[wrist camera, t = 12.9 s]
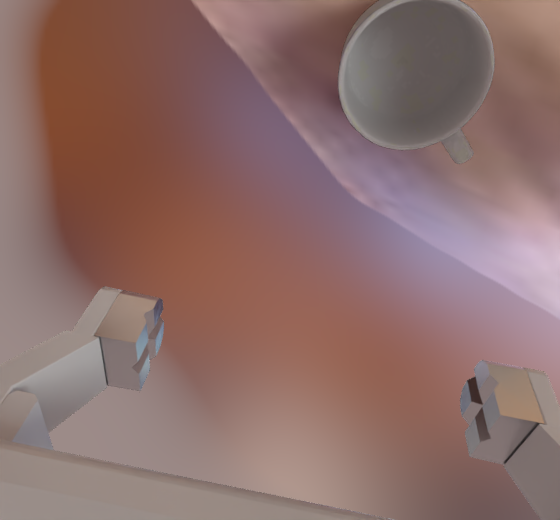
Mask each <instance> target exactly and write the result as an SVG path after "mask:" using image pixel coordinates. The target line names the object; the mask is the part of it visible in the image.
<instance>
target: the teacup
mask: <svg viewBox="0 0 560 520" xmlns="http://www.w3.org/2000/svg"><path fill="white" fill-rule="evenodd" d="M494 62H495V60H494V50H493V43H492V40H491V37H490V33H489V31H488V29H487V27H486V25H485V24H484V22H483V20H482V19H481V18H480V16H479V15H478V14H477V13H476V12H475V11H474V10H473V9H472V8H470V7H469V6H468V5H466V4H465V3H463V2H461V1H460V0H379V1H377V2H376V3H374V4H373V5H372V6H370V7H369V8H368V9H367V10H366V11H365V12H364V13H363V14H362V15H361V16H360V17H359V19H358V20H357V21H356V23H355V24H354V25H353V27H352V29H351V30H350V32H349V34H348V37H347V39H346V42H345V44H344V48H343V51H342V56H341V61H340V65H339V71H338V92H339V99H340V102H341V106H342V109H343V112H344V113H345V115H346V117H347V119H348V121H349V122H350V124H351V125H352V126H353V127H354V128H355V130H356V131H358V132H359V133H360V134H361V135H362V136H363V137H364V138H366V139H368V140H369V141H370V142H372V143H374V144H376V145H378V146H382V147H385V148H389V149H394V150H414V149H419V148H423V147H427V146H430V145H433V144H435V143H438V142H440V141H441V142H442V144H443V145H444V147H445V148H446V150H447V152H448V153H449V155H450V157H451V158H452V159H453V161H454V162H455V163H457V164H461V163H464V162H466V161H467V160H469V159H470V158H471V157H472V156H473V154H474V153H473V150H472V148H471V146H470V144H469V142H468V141H467V139H466V137H465V135H464V134H463V132H462V130H461V128H462V127H463V126H464V125H465V124H466V123H467V122H468V121H469V120H470V119H471V118H472V117H473V115H474V114H475V113H476V112H477V111H478V109H479V108H480V106H481V104H482V103H483V101H484V99H485V97H486V95H487V93H488V91H489V88H490V85H491V82H492V78H493V73H494Z"/></svg>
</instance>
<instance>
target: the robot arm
mask: <svg viewBox="0 0 560 520" xmlns="http://www.w3.org/2000/svg"><path fill="white" fill-rule="evenodd" d="M162 310H163V300H162V299H161V298H157V297H153V296H148V295H143V294H139V293H134V292H130V291H125V290H119V289H114V288H110V287H103V288H101V289H100V290H99V291H98V293H97V294H96V295H95V297H94V298H93V300H92V301H91V303H90V304H89V306H88V307H87V309H86V311H85V312H84V313H83V315H82V316H81V318H80V320H79V321H78V322H77V324H76V325H75V327H74V328H73V330H72V331H71V332H70V331H64V332H62V333H61V334H58V335H56V336H55V337H53V338H51V339H49V340H47V341H45V342H43V343H41V344H39V345H37V346H36V347H33V348H32V349H30V350H28V351H26V352H24V353H22V354H20V355H18V356H16V357H14V358H13V359H11V360H9V361H7V362H5V363H3V364H1V365H0V520H394V519H389V518H384V517H378V516H374V515H369V514H364V513H359V512H355V511H350V510H345V509H340V508H335V507H330V506H325V505H320V504H315V503H310V502H305V501H300V500H295V499H291V498H285V497H281V496H276V495H271V494H266V493H261V492H256V491H251V490H246V489H241V488H236V487H231V486H227V485H221V484H217V483H212V482H207V481H202V480H197V479H192V478H187V477H183V476H178V475H173V474H167V473H163V472H158V471H153V470H148V469H143V468H139V467H133V466H129V465H124V464H119V463H114V462H109V461H104V460H99V459H94V458H90V457H85V456H80V455H75V454H70V453H65V452H60V451H55V450H54V449H53V446H52V443H51V440H50V437H49V432H50V431H52V430H53V429H54V428H56V427H57V426H58V425H59V424H61V423H62V422H63V421H65V420H66V419H67V418H68V417H70V416H71V415H72V414H74V413H75V412H76V411H77V410H79V409H80V408H81V407H83V406H84V405H85V404H86V403H88V402H89V401H90V400H92V399H93V398H94V397H96V396H97V395H98V394H99V393H101V392H102V391H103V390H104V389H106V388H107V385H108V386H114V387H119V388H125V389H131V390H137V391H141V389H142V386H143V384H144V382H145V380H146V378H147V375H148V373H149V371H150V362H149V360H150V359H152V358H154V357H156V355H157V353H158V351H159V348H160V345H161V341H162V337H163V331H164V321H163V320H162V319H161V317H160V315H161V313H162ZM474 371H475V377H473V378H471V379H469V380H467V381H466V384H465V385H464V387H463V389H462V394H461V398H460V404H461V405H460V408H461V413H462V417H463V418H464V419H465V421H466V422H467V423H468V424H469V427H468V428H467V430H466V431H465V435H466V441H467V445H468V451H469V456H470V457H473V458H477V459H481V460H486V461H490V462H495V463H499V464H504V468H505V469H506V470H507V472H508V473H509V475H510V476H511V478H512V479H513V481H514V482H515V484H516V485H517V486H518V488H519V489H520V491H521V492H522V494H523V495H524V496H525V498H526V499H527V501H528V502H529V504H530V505H531V506H532V508H533V509H534V511H535V512H536V514H537V515H538V517H539V518H540V519H541V520H560V406H559V404H558V401H557V399H556V396H555V393H554V391H553V388H552V386H551V383H550V381H549V378H548V376H547V374H546V373H545V372H544V371H539V370H534V369H528V368H521V367H517V366H512V365H507V364H501V363H495V362H490V361H485V360H482V361H480V362H479V363H478V364H477V365H476V367H475V368H474Z"/></svg>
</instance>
